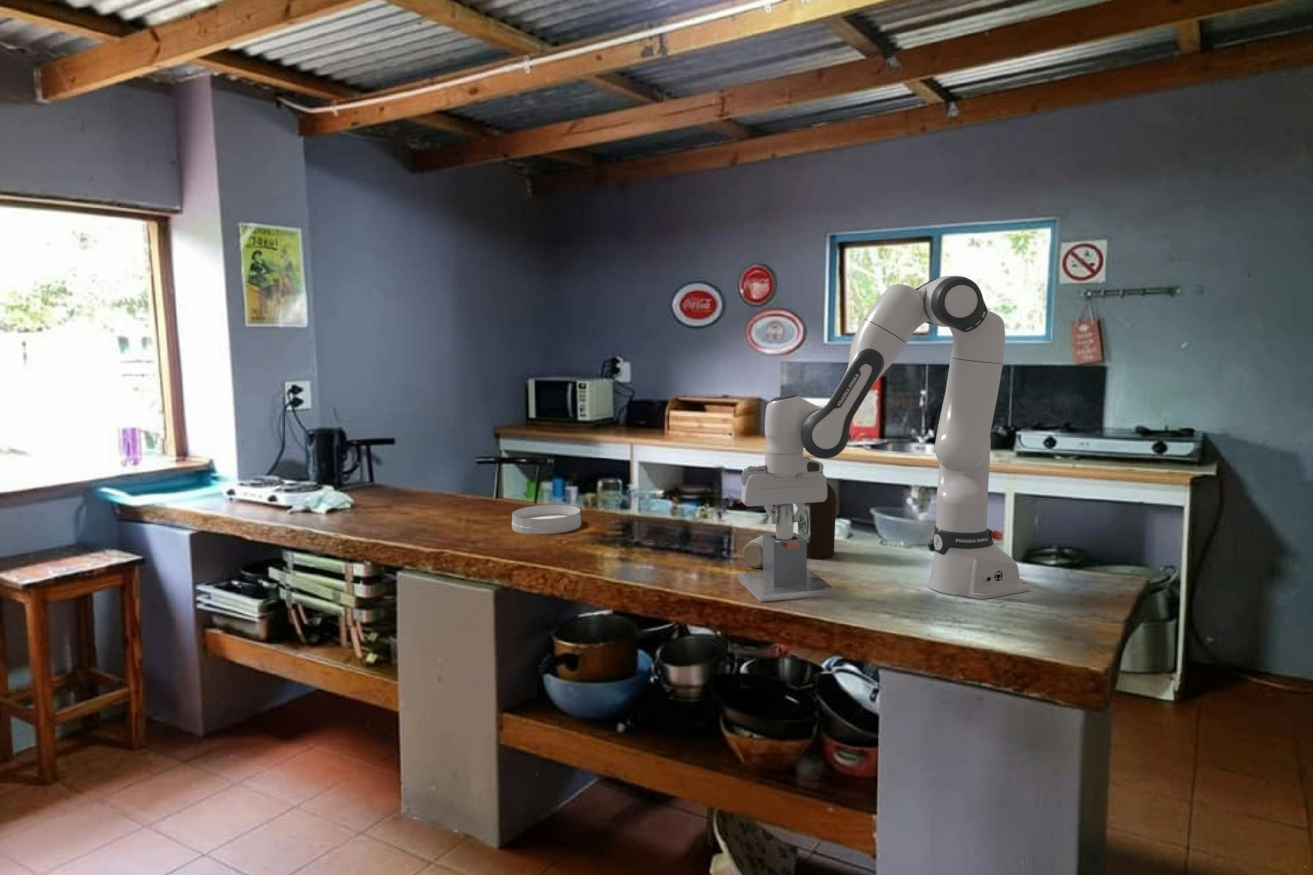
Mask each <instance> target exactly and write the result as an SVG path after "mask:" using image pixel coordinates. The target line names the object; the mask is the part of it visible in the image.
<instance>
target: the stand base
mask: <svg viewBox="0 0 1313 875" xmlns="http://www.w3.org/2000/svg"><path fill="white" fill-rule="evenodd" d="M765 534H766V535H764V534H762V535H763V567H762V570H761V571H759V570H758V571H748V572H738V573H736V579H737V580H738V582H739V583H740V584H742V585H743V586H744V587H745V588H746V590H747V591H749V592H750V594H752V596H754V597H755V598H756V599H757V600H758V601H759V602H761V603H762V602H773V601H774V602H775V601H784V600H786V601H787V600H796V599H808V598H818V597H819V598H820V597H830V596H836V595H837V594H836V587H834V586H832V585H831V584H829V582H827V581H825V579H823V578H822V577H820V576H818V575H817V574H816V573H814V571H812V570H810V569H809V568H807V567H808V562H807V561H808V558H807V540H805V539H804V538H802V537H801V536H799V535H798V533H796V532H794V531H793V540H783V541H777V540H776V533H771V534H769V533H765Z"/></svg>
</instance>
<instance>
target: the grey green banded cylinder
mask: <svg viewBox="0 0 1313 875" xmlns="http://www.w3.org/2000/svg"><path fill="white" fill-rule="evenodd" d="M793 514H794V504H782V505H775V515H776V516H778V519H777V521H778V523H776V524H775V534H776V540H777V541H783V540H793V533H794V522H793Z"/></svg>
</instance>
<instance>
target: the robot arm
mask: <svg viewBox="0 0 1313 875" xmlns="http://www.w3.org/2000/svg"><path fill="white" fill-rule="evenodd" d="M923 324H929V325H933V326H938V327H943V328H948V329H949V330H950V333H951V334H952V343H953V345H952V349H951V355H950V361H949V368H948V372H947V380H946V385H945V393H944V397H943V402H942V407H941V412H940V417H939V421H938V425H937V432H936V436H935V443H934V452H935V453H934V454H935V457H936V459H937V460H938V463H939V466H938V467H939V468H938V476H937V477H938V480H937V490H936V507H935V508H936V512H935V513H936V514H935V515H936V518H935V522H936V523H935V525H934V526H933V548H934V549H933V550H934V554H933V562H932V568H931V572H930V575H929V578H928V582H927V586H928V587H929V588H930V589H933V590H934V591H937V592H940V593H943V594H948V595H955V596H961V597H969V598H973V599H978V600H984V599H985V600H987V599H990V598H996V597H1002V596H1008V595H1014V594H1017V593H1023V592H1024V593H1025V592H1029V591H1031V585H1030V584H1029V583H1028V581H1026V580H1025V579H1023V578H1021V577H1020V570H1019V566H1018V563H1017V562H1016V560H1015V559H1014V558H1012V557H1011V556H1010V555H1009V554H1008V553H1006V552H1005V551H1003V550H1002V549H1001V548H1000V547H998V546H997V545H996V544H994V543H995V542H994V540H996V541H1002V540H1003V538H1004V533H1003V532H1002V531H999V530H991V529H990V528H988V503H989V502H988V501H989V500H988V499H989V484H990V483H989V480H990V465H991V464H990V463H991V462H990V461H991V445H992V444H991V442H992V441H991V434H992V433H991V431H992V426H993V421H994V415H995V411H996V405H997V400H998V395H999V390H1000V383H1001V377H1002V376H1001V375H1002V370H1003V366H1004V365H1003V363H1004V357H1005V348H1006V347H1005V346H1006V332H1005V331H1006V329H1005V328H1006V327H1005V325H1006V324H1005V322H1004V320H1003V318H1002V317H1001V316H1000V315H998V314H997V313H996V312H993V311H991V310H988V308H987V305H986V302H985V300H984V297H983V294H982V291H981V289H980V286H978V284H977V283H976V282H975V281H973V280H972V279H970V278H968V277H966V276H962V275H944V276H941V277H937V278H934V279H931V280H929V281H927V282H925V283H923V284H922V285H920V286H919V287H917V288H914V287H912V286H909V285H907V284H901V283H900V284H899V283H897V284H893V285H891V286H889V287H888V288H887V289H886V290H885V291H884V292H883V293H882V294H881V295H880V297H878V299H877V300H876V301H875V303H874V304H873V305H872V306H871V307H870V309H869V311H868V312H867V313H866V314H865V316H864V318H863V320H862V321H861V323H860V324H859V326H858V328H857V330H856V332H855V334H854V337H853V339H852V342H851V344H850V346H849V347H850V348H849V360H848V365H847V369H846V370H845V374H844V375H843V377H842V379H841V380H840V382H839V384H838V385H837V387H836V389H835V391H833V393H832V395H831V398H830V399H829V400H828V402H827V403H826V404H825V406H824V407H822V406H819V405H817V404H814V403H812V402H810V401H808V400H806V399H804V398H803V397H802V396H800V394H796V393H795V394H793V393H792V394H784V395H779V396H777V397H774V398H772V399H770V400H769V402H768V403H767V405H766V408H765V416H764V436H765V439H766V444H765V445H766V446H765V449H764V465H757V466H756V465H755V466H754V465H750V466H747V467H746V468H744V469H742V472H741V474H740V476H741V478H740V480H741V484H742V487H741V494H740V495H741V498H740V500H741V502H742V503H743V505H745V506H746V507H761V506H762V507H764V509H765V511H766V513H767V515H768V522H769V524H770V525H773V524H775V525H776V523H778V521H777V519H778V516H776V514H774V513H773V511H772V510H773V509H774V506H776V505H782V504H793V505H795V507H796V509H795V510H794V512H793V523H798V522H799V515H800V514H801V512H802V510H803V509H804V503H813V502H824V501H825V500H826V498H827V483H828V482H827V478H826V475H825V474H824V468H825V467H824V463H822V462H820V461H818V460H817V459H824V460H825V459H831V458H834V457H837V456H838V455H839V454H841V453H842V452H843V451H844V450H845V448H846V446H847V444H848V441H849V437H850V430H851V429H850V428H851V424H852V421H853V419H854V417H855V415H856V414H857V411H858V410H859V409H860V407H861V405H862V404H863V402H864V400H865V399H866V397H867V395H868V394H869V392H870V391H871V389H872V388H873V385H875V384H876V382H877V381H878V380H879V379H880V377H882V375H883V374H884V373H885V372H886V370H888V368H889V367H891V365H892V364H893V363H894V362H895V361H896V359H898V357H899V356H900V354H901V353H902V352H903V350H904V348H905V347H906V346H907V344H908V342H910V340H911V338H912V336H913V334H914V333H915V332H916V330H917V329H918V328H919V327H921V326H922V325H923ZM804 449H805V451H806V452H807V453H809V455H811V456H813V457H815V458H817V459H814V458H813V459H812V458H811V457H808V456H804ZM822 471H823V473H821V472H822ZM826 482H827V483H826ZM993 539H994V540H993Z"/></svg>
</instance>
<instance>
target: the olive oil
mask: <svg viewBox="0 0 1313 875" xmlns="http://www.w3.org/2000/svg"><path fill="white" fill-rule="evenodd" d="M821 473H823V474H824V470H823V471H822V472H821ZM826 483H827V498H826V500H825V501H824V502H813V503H804V509H803V510H802V512H801V514H800V515H799V522H797V534H798V535H799V536H801V537H802V538H804V539H805V540H807V559H812V560H824V559H830V558H832V557H834V556H835V544H836V543H835V542H836V540H835V535H836V518H837V503H838V502H837V501H838V499H837V494H836V492H835V490H834V488H833V487H832V486H831V485H830V484H829V483H828V481H826Z"/></svg>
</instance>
